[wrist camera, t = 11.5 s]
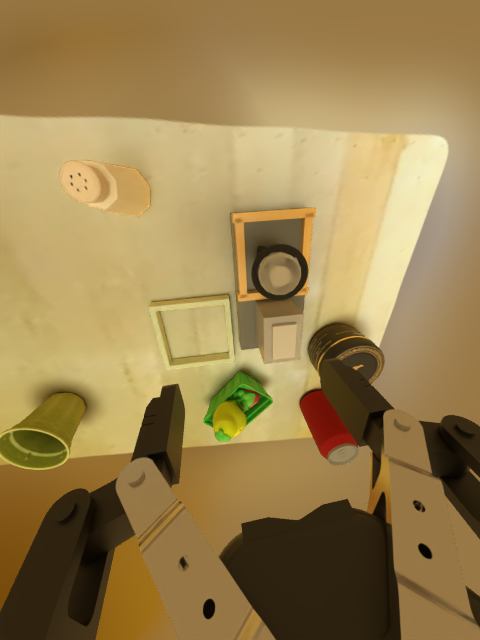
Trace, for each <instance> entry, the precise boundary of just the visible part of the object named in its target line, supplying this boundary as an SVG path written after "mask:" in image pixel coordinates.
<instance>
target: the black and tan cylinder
mask: <svg viewBox="0 0 480 640" xmlns="http://www.w3.org/2000/svg"><path fill="white" fill-rule="evenodd" d="M259 266H260V269H259V277H258V267H259ZM251 277H252V282H253V285H254V287H255V288H256V290H257V291H258V292H259V293H260V294H261V295H262V296H264V297H266V298H268V299H271V300H285V299H288V298H291V297H293V296H294V295H296V294H297V293H298V292H299V291H300V290H301V289H302V288H303V287H304V285H305V283H306V281H307V277H308V264H307V261H306V259H305V257H304V256H303V254H302V253H301V252H300V251H299V250H298V249H296V248H295V247H293V246H290V245H286V244H276V245H272V246H269V247H267V248H266V247H264V246H258V248H257V254H256V259H255V261H254V263H253V266H252V271H251Z"/></svg>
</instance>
